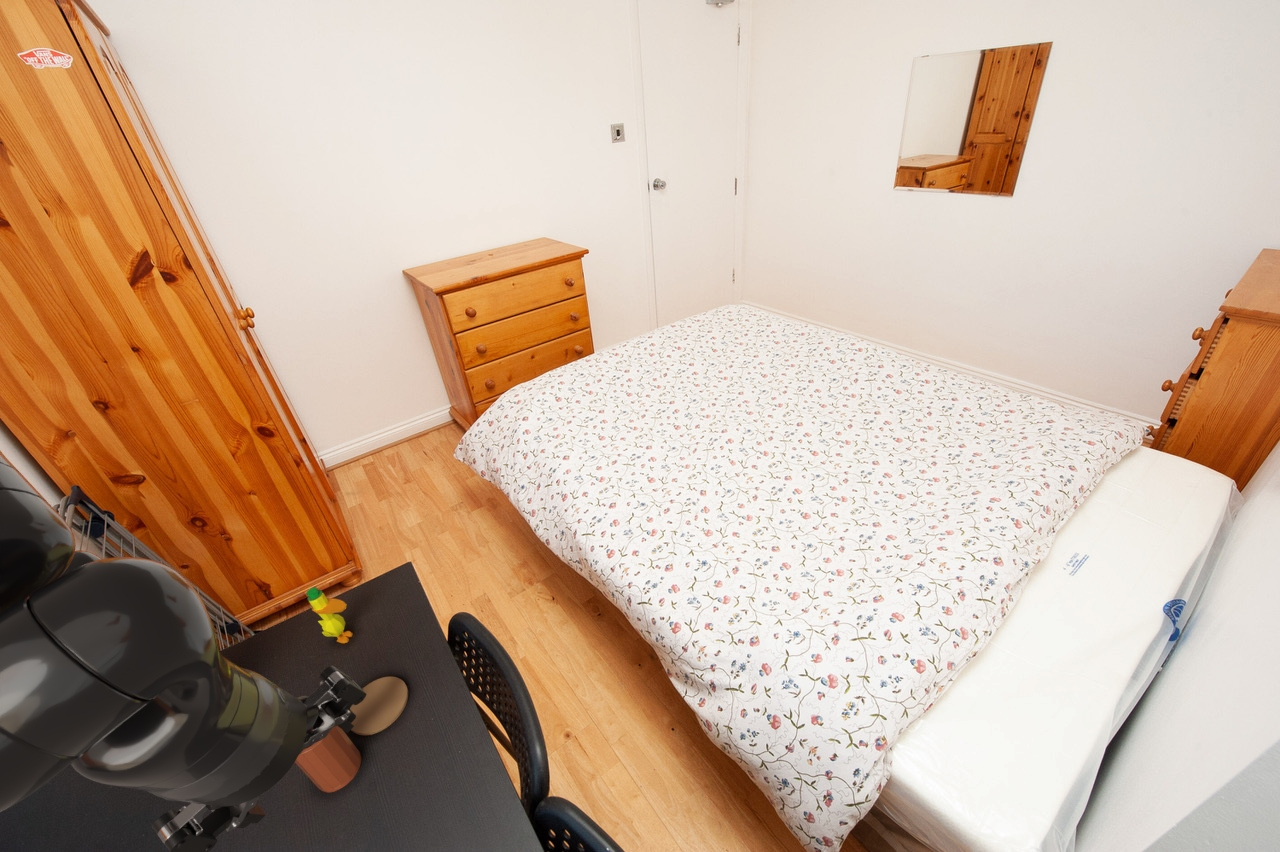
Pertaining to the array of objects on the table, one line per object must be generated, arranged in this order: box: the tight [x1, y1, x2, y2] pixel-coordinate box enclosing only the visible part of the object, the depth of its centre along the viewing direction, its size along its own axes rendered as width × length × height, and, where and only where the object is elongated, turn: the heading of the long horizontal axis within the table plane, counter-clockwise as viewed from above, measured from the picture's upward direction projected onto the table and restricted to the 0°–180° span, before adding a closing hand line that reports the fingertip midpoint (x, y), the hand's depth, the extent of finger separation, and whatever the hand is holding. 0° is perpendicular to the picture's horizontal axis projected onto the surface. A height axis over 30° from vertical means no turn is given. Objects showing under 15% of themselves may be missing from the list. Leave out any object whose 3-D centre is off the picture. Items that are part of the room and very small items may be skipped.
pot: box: [294, 726, 362, 793], centre depth 64 cm, size 5×5×10 cm
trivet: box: [350, 676, 409, 736], centre depth 74 cm, size 8×8×1 cm
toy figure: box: [305, 586, 354, 644], centre depth 81 cm, size 7×4×12 cm, turn 84°
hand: (302, 764), depth 47 cm, fingers open, 8 cm apart
